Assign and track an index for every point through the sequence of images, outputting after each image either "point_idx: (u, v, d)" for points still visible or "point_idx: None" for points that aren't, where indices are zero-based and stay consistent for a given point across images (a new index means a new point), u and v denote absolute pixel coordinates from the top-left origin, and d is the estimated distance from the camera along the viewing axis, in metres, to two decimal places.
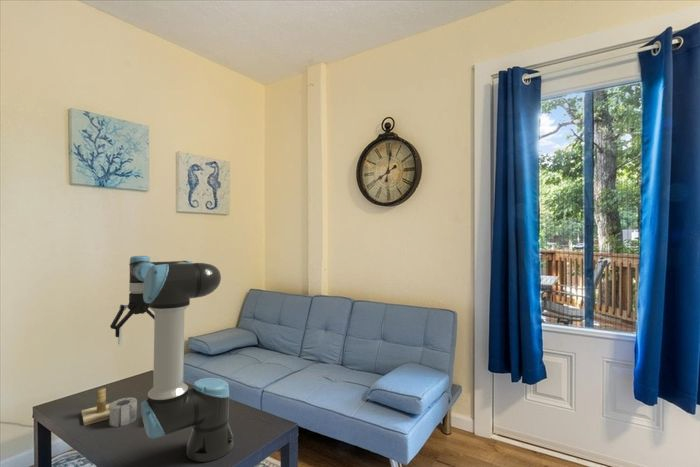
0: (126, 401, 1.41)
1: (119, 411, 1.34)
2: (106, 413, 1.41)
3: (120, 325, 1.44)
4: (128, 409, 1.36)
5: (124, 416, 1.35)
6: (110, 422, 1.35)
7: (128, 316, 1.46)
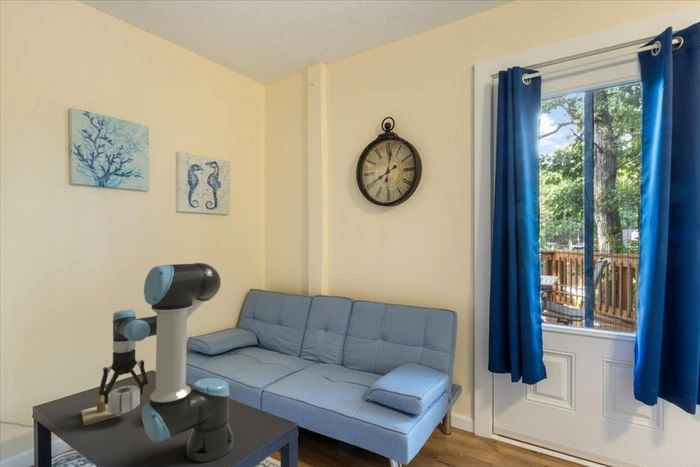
0: (127, 389, 1.40)
1: (120, 398, 1.34)
2: (106, 413, 1.41)
3: (108, 390, 1.34)
4: (129, 396, 1.35)
5: (125, 403, 1.34)
6: (111, 409, 1.34)
7: (114, 379, 1.35)
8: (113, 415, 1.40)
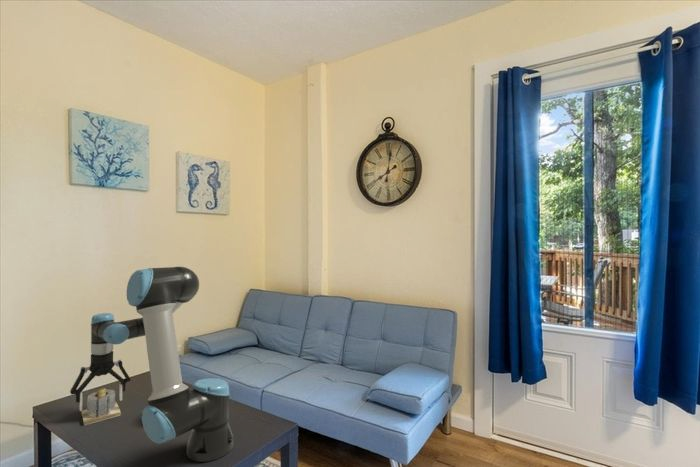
0: None
1: (97, 402, 1.39)
2: None
3: (81, 389, 1.37)
4: (106, 400, 1.40)
5: (102, 407, 1.39)
6: (88, 413, 1.39)
7: (89, 379, 1.39)
8: (113, 415, 1.40)
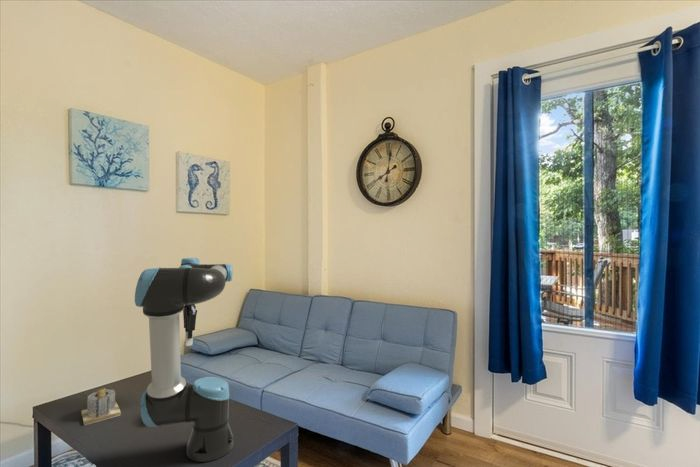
0: None
1: (97, 402, 1.39)
2: None
3: (185, 326, 1.57)
4: (106, 400, 1.40)
5: (102, 407, 1.39)
6: (88, 413, 1.39)
7: (185, 316, 1.57)
8: (113, 415, 1.40)
